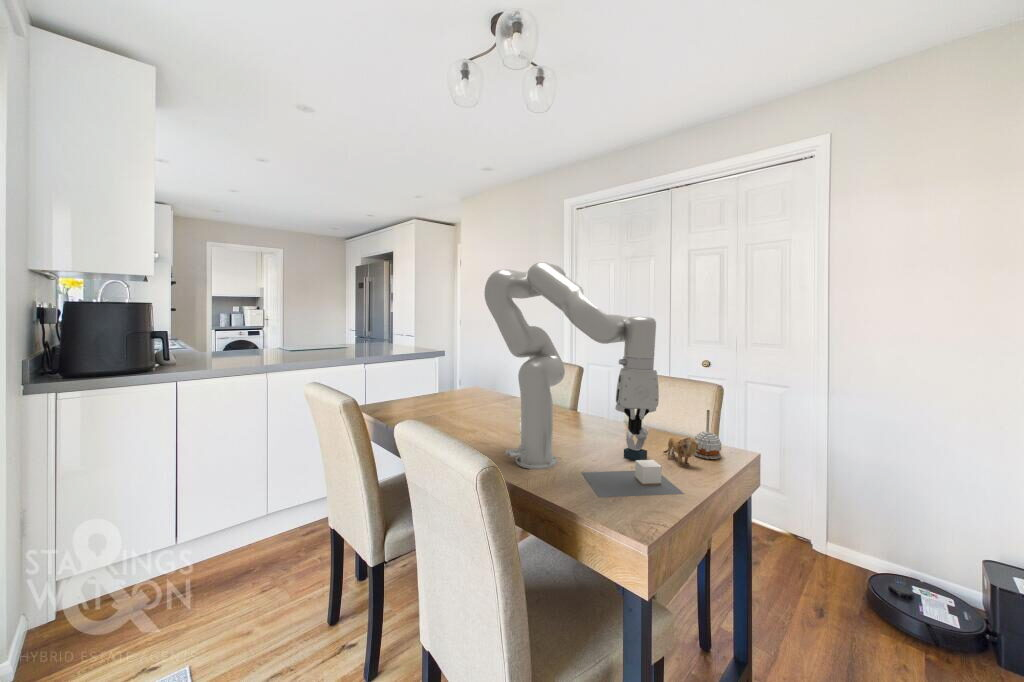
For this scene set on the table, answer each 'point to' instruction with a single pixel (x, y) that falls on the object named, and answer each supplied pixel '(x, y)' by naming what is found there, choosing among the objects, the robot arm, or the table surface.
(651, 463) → the block
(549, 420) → the robot arm
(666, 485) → the mat
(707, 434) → the decorative ornament
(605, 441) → the table surface
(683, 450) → the lion figurine
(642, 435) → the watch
